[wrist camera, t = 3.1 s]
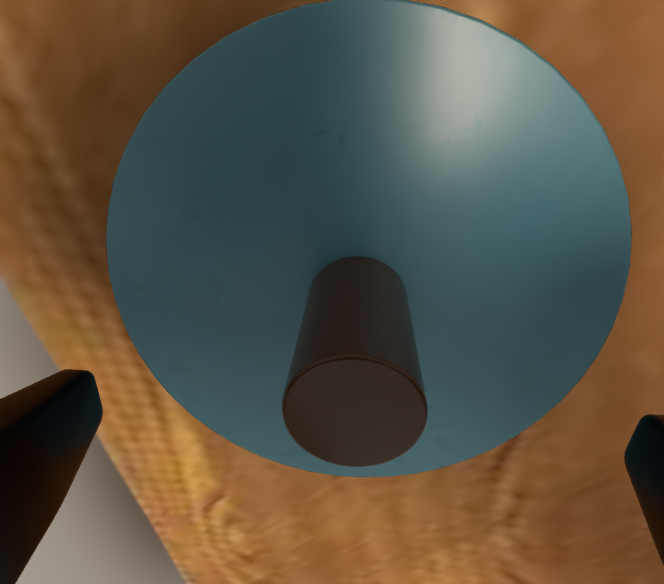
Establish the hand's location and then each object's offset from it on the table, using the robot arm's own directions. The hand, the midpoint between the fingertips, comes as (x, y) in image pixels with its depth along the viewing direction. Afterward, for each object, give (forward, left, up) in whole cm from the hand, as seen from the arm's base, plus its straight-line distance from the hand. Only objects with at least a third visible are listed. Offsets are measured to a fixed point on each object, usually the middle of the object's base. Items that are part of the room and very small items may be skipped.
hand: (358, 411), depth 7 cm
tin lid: (0, 0, -4) cm, 4 cm away
